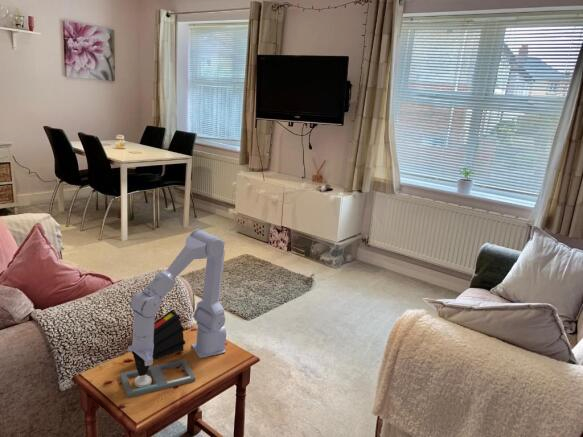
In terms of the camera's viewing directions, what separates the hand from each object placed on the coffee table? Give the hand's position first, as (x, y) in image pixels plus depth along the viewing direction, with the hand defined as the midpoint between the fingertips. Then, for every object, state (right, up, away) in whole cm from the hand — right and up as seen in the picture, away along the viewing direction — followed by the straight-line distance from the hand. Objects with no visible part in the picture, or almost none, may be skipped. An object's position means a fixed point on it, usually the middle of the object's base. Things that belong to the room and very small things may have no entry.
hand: (141, 372), depth 128 cm
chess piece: (0, -4, +2) cm, 4 cm away
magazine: (+2, 0, +16) cm, 16 cm away
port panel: (+4, -3, +4) cm, 6 cm away
